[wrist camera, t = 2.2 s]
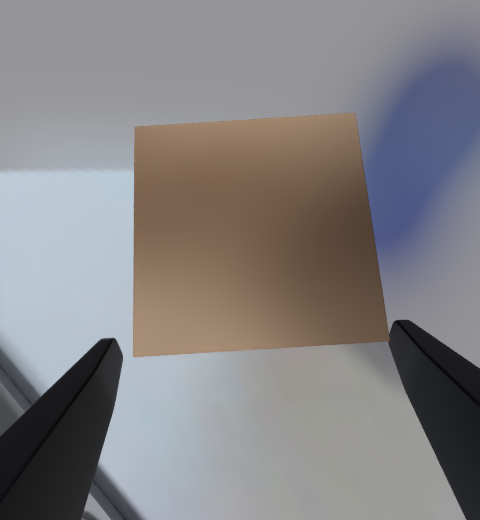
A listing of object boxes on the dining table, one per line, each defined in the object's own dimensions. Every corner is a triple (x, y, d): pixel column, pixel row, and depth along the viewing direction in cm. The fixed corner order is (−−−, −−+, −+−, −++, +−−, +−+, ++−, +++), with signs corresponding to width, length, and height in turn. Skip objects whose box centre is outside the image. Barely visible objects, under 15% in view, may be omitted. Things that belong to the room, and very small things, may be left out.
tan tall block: (286, 322, 19) (389, 340, 6) (211, 327, 19) (133, 356, 6) (278, 238, 20) (350, 82, 7) (208, 242, 20) (135, 95, 7)
